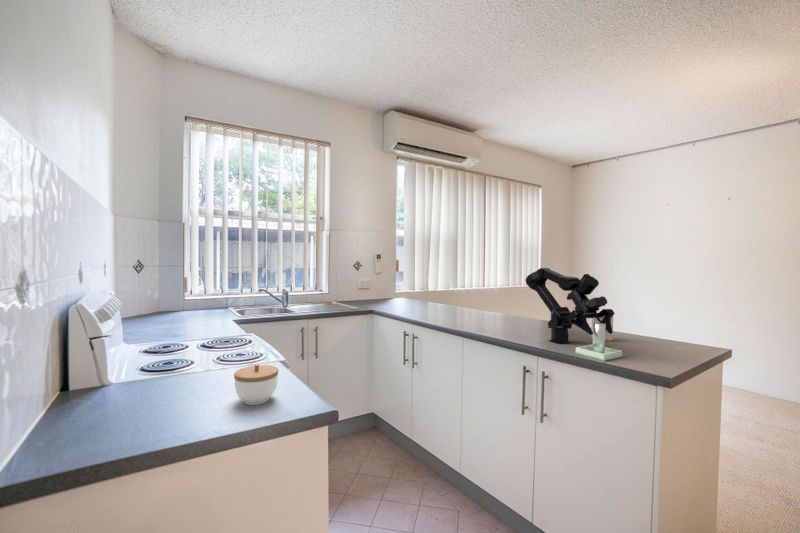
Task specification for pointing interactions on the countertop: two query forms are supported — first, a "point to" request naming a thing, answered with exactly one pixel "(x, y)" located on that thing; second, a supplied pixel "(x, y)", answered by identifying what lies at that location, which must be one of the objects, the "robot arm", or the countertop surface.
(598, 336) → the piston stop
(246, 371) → the lidded jar
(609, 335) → the supplement box
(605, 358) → the tray
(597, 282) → the robot arm
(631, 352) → the countertop surface
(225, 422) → the countertop surface
